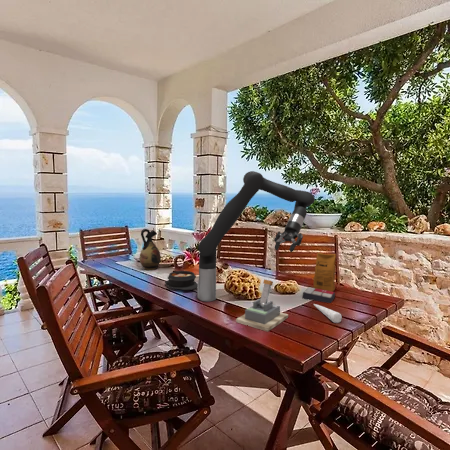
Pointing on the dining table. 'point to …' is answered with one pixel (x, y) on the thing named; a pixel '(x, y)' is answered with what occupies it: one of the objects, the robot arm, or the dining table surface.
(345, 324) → the dining table surface
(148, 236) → the ceramic jug
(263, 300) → the lever
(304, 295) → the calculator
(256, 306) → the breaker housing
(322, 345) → the dining table surface
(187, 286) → the casserole
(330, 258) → the coffee package
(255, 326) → the mounting board
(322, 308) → the unicorn horn
